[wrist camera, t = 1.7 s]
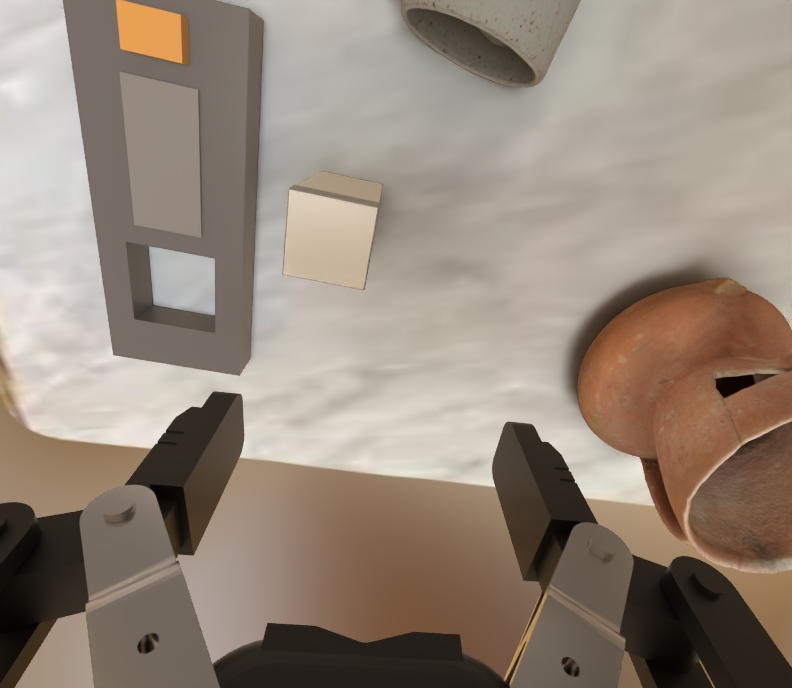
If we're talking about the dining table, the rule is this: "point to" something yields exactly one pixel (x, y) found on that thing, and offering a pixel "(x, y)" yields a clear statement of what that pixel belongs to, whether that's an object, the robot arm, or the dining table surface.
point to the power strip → (171, 164)
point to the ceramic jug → (703, 416)
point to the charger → (331, 229)
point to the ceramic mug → (493, 34)
